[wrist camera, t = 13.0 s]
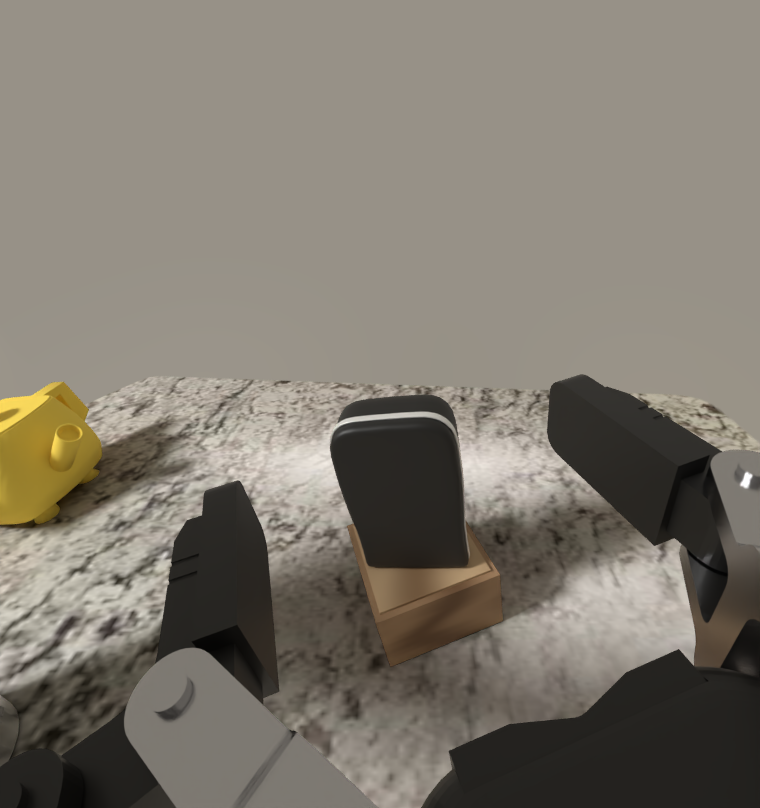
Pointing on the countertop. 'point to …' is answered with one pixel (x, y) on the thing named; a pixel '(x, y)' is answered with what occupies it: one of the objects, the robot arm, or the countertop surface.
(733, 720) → the robot arm
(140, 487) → the countertop surface
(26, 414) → the teapot
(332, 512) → the countertop surface
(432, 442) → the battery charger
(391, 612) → the wooden box
